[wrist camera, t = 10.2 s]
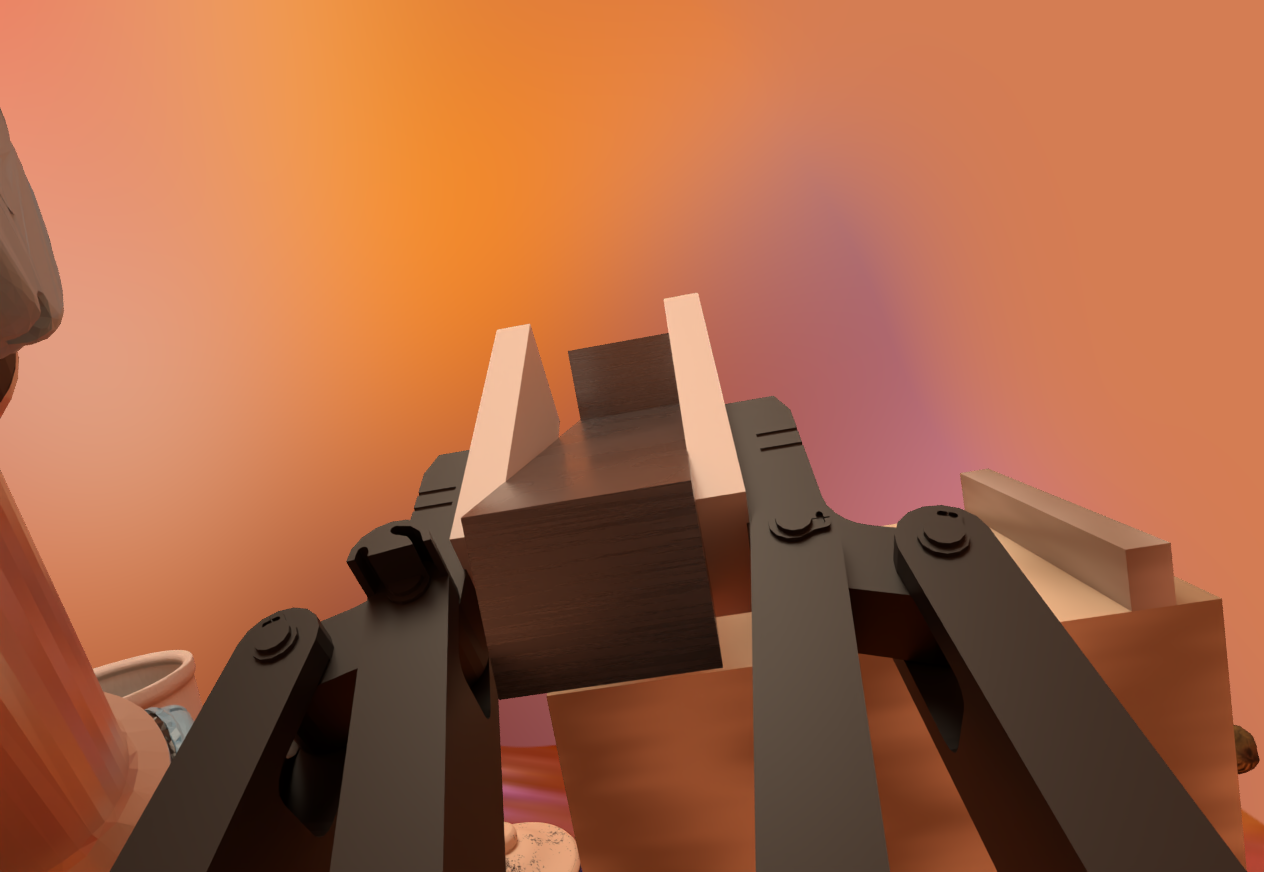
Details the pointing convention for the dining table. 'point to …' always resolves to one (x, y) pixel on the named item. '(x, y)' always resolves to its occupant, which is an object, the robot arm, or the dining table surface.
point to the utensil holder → (154, 680)
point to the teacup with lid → (539, 848)
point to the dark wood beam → (598, 540)
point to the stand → (906, 710)
